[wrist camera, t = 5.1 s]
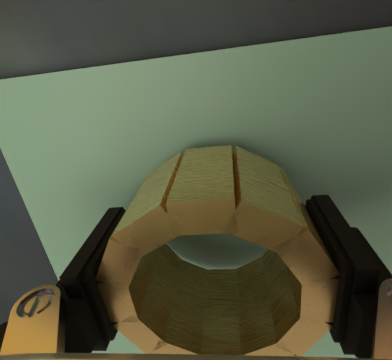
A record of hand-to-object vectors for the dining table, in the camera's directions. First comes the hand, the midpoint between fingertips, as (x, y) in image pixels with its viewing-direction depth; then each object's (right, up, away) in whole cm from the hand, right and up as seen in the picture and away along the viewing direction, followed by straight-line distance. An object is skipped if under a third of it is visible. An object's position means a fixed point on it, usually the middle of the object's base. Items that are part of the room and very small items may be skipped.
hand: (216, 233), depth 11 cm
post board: (+1, -6, +6) cm, 9 cm away
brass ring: (0, 0, +1) cm, 1 cm away
